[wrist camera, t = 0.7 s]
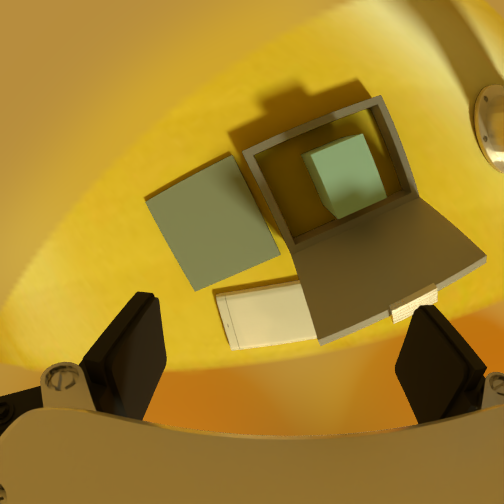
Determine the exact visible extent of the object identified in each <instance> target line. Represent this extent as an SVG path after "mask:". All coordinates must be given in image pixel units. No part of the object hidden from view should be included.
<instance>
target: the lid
mask: <svg viewBox="0 0 504 504" xmlns="http://www.w3.org/2000/svg"><path fill="white" fill-rule="evenodd" d="M291 256H292V259H293V262H294V265H295V268H296V271H297V274H298V277H299V281H300V284H301V287H302V290H303V293H304V296H305V300H306V303H307V306H308V309H309V312H310V316H311V319H312V322H313V325H314V329H315V332H316V335H317V339H318V341H319V343H320V345H321V346H322V345H324V344H327V343H329V342H332V341H334V340H337V339H339V338H341V337H344V336H346V335H348V334H351V333H353V332H355V331H358V330H360V329H362V328H365V327H367V326H369V325H371V324H373V323H376V322H378V321H380V320H382V319H384V318H386V317H388V316H391V320H392V322H393V323H394V324H395V323H397V322H399V321H401V320H403V319H405V318H407V317H409V316H411V315H413V312H414V310H415V309H417V308H418V307H419V306H420V305H432V304H434V303H436V302H437V291H439V290H441V289H443V288H444V287H446V286H448V285H450V284H451V283H453V282H455V281H457V280H458V279H460V278H462V277H463V276H465V275H467V274H468V273H470V272H472V271H473V270H475V269H477V268H478V267H480V266H481V265H483V264H485V263H486V257H487V255H486V254H485V253H484V252H483V251H482V250H480V249H479V248H478V247H477V246H476V245H475V244H474V243H473V242H472V241H471V240H470V239H469V238H468V237H467V236H465V235H464V234H463V233H462V232H461V231H460V230H459V229H458V228H456V227H455V226H454V225H453V224H452V223H451V222H450V221H448V220H447V219H446V218H445V217H444V216H442V215H441V214H440V213H439V212H438V211H436V210H435V209H434V208H433V207H431V206H430V205H429V204H428V203H426V202H425V201H424V200H423V199H421V198H420V197H419V198H417V199H414V200H412V201H410V202H408V203H406V204H404V205H401V206H399V207H397V208H395V209H393V210H391V211H388V212H386V213H384V214H382V215H380V216H377V217H375V218H373V219H371V220H369V221H366V222H364V223H362V224H360V225H358V226H355V227H353V228H351V229H349V230H346V231H344V232H342V233H340V234H337V235H335V236H333V237H331V238H328V239H326V240H324V241H322V242H319V243H317V244H315V245H313V246H310V247H308V248H306V249H304V250H301V251H299V252H297V253H294V254H292V255H291Z"/></svg>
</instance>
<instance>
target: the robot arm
mask: <svg viewBox="0 0 504 504" xmlns="http://www.w3.org/2000/svg"><path fill="white" fill-rule="evenodd" d="M474 124H475V130H476V135H477V139H478V143H479V145H480V148H481V150H482V152H483V154H484V156H485V158H486V159H487V161H488V162H489V163H490V165H491V166H492V167H493V168H494V169H496V170H497V171H499V172H501V173H504V86H501V85H490V86H487V87H485V88H484V89H482V91H481V92H480V93H479V95H478V97H477V100H476V104H475V110H474ZM166 361H167V357H166V350H165V343H164V336H163V329H162V321H161V313H160V304H159V299H158V298H156V297H154V294H153V293H147V292H136V294H135V295H134V296H133V297H132V298H131V299H130V301H129V302H128V303H127V304H126V305H125V307H124V308H123V309H122V310H121V311H120V313H119V314H118V315H117V316H116V317H115V319H114V320H113V321H112V322H111V323H110V325H109V326H108V327H107V328H106V330H105V331H104V332H103V333H102V335H101V336H100V337H99V338H98V340H97V341H96V342H95V343H94V345H93V346H92V347H91V348H90V350H89V351H88V352H87V354H86V355H85V356H84V357H83V360H82V361H81V363H80V364H79V365H77V364H74V363H72V362H61V363H57V364H54V365H52V366H50V367H48V368H47V369H46V370H45V371H44V372H43V374H42V376H41V381H40V384H41V386H38V387H35V388H31V389H27V390H24V391H20V392H16V393H12V394H8V395H5V396H1V397H0V504H504V374H503V373H500V372H492V373H490V374H488V376H487V377H486V378H485V377H484V376H483V374H484V373H485V370H486V369H487V367H486V366H485V364H484V363H483V362H482V360H481V359H480V358H479V357H478V356H477V354H476V353H475V352H474V350H473V349H472V348H471V347H470V346H469V344H468V343H467V342H466V341H465V340H464V338H463V337H462V336H461V335H460V334H459V333H458V331H457V330H456V329H455V328H454V327H453V326H452V325H451V323H450V322H449V321H448V320H447V319H446V318H445V317H444V315H443V314H442V313H441V312H440V311H439V310H438V309H437V308H436V307H435V306H434V305H420V306H419V307H418V308H417V309H415V310H414V312H413V315H412V319H411V322H410V325H409V328H408V331H407V334H406V337H405V340H404V343H403V346H402V348H401V351H400V354H399V357H398V359H397V362H396V365H395V373H396V375H397V377H398V380H399V382H400V384H401V386H402V388H403V390H404V392H405V395H406V397H407V399H408V401H409V403H410V406H411V408H412V410H413V412H414V414H415V417H416V419H417V421H418V424H417V425H412V426H406V427H400V428H393V429H386V430H379V431H370V432H363V433H362V432H361V433H351V434H337V435H318V436H265V435H244V434H231V433H221V432H211V431H203V430H195V429H187V428H181V427H175V426H169V425H162V424H157V423H151V422H147V421H142V420H143V417H144V415H145V412H146V410H147V408H148V405H149V403H150V401H151V398H152V396H153V393H154V391H155V389H156V387H157V384H158V382H159V380H160V378H161V375H162V373H163V371H164V368H165V366H166Z"/></svg>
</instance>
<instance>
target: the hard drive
mask: <svg viewBox="0 0 504 504" xmlns="http://www.w3.org/2000/svg"><path fill="white" fill-rule="evenodd" d="M216 301H217V304H218V308H219V311H220V315H221V318H222V321H223V325H224V328H225V331H226V335H227V338H228V341H229V344H230V347H231V350H240V349H249V348H257V347H264V346H272V345H279V344H285V343H292V342H297V341H304V340H310V339H315V338H317V335H316V332H315V329H314V325H313V322H312V319H311V316H310V312H309V309H308V306H307V303H306V300H305V296H304V293H303V290H302V287H301V284H300V281H299V280H297V281H291V282H285V283H279V284H274V285H268V286H262V287H256V288H250V289H244V290H238V291H232V292H226V293H219V294H216Z"/></svg>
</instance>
